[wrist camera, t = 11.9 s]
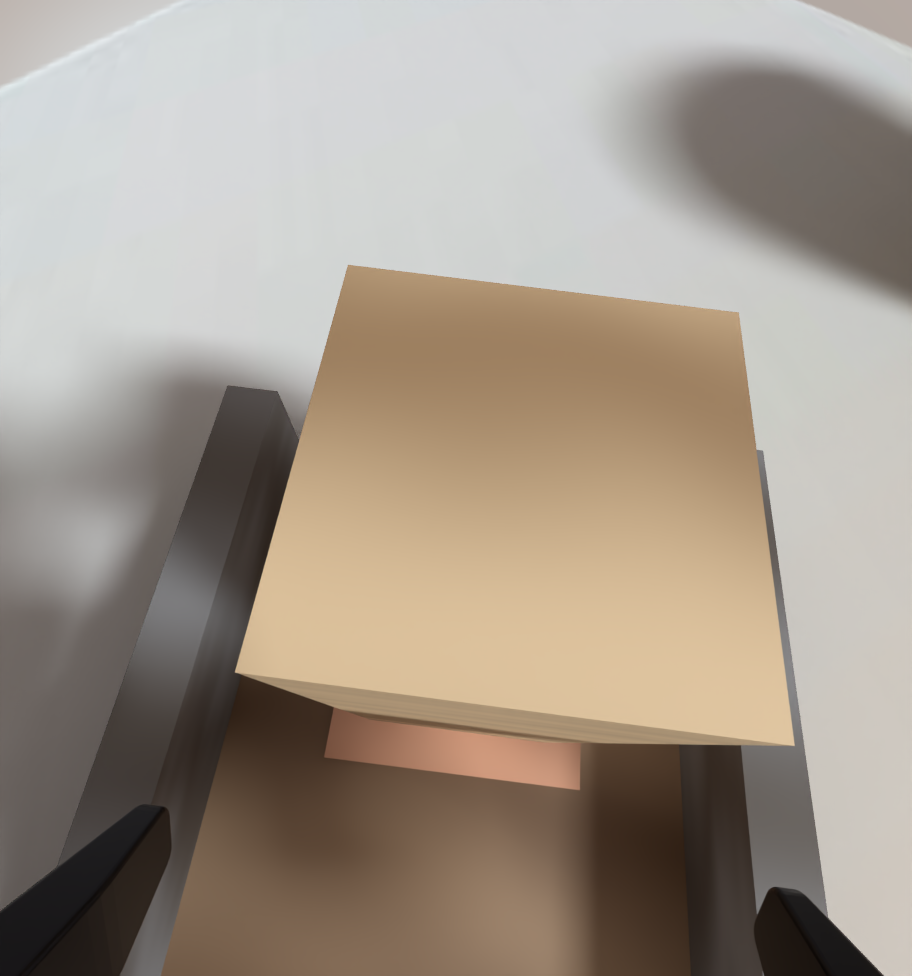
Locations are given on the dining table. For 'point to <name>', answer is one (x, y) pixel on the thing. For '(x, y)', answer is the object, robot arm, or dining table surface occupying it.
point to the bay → (414, 799)
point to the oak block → (526, 522)
